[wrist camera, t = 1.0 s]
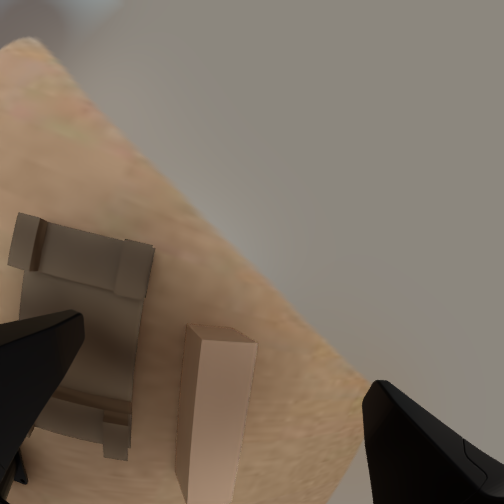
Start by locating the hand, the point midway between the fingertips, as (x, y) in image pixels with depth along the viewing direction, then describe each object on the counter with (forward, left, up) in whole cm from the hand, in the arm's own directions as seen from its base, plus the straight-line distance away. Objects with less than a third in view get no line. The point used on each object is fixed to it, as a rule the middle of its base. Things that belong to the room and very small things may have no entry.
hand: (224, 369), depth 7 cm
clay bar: (-8, -4, -13) cm, 16 cm away
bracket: (-3, +6, -13) cm, 15 cm away
